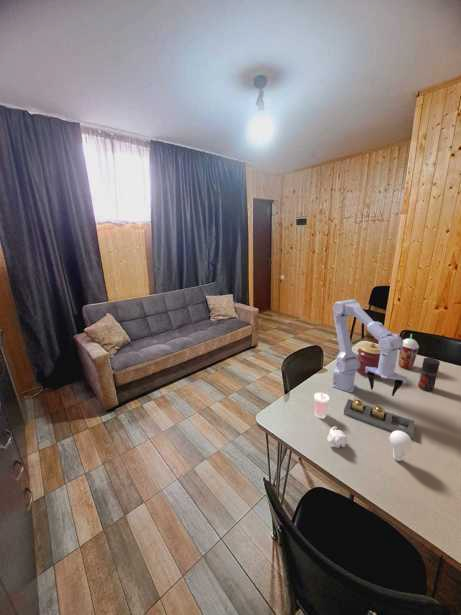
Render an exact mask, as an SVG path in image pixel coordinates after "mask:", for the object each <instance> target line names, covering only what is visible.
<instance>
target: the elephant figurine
mask: <svg viewBox="0 0 461 615" xmlns="http://www.w3.org/2000/svg"><path fill="white" fill-rule="evenodd" d="M349 436H350V435H349V434H348V435H346V434H345V433H344V431H342V430H340V429H337V426H332V427H331V428H329V433H328V436H327V437H326V440H327V443H328V444H330V445H332V444H335V448H338V449H339V448H340V447H341V448H345V447H346V445H347V443H348V438H347V437H349Z"/></svg>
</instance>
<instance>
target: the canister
mask: <svg viewBox="0 0 461 615" xmlns="http://www.w3.org/2000/svg"><path fill="white" fill-rule="evenodd" d="M357 353H358V354H357V358H358V360H359V362H360V367H359V368H358V369H357V371H356V372H357V374H359V375H361V376H363V377H366V378H368V377H367V374H368V373H366V372H365V368H366V366H367V367H373V368H378V365H379V359H380V353H381V351H380V346H379V344H376V343H375V342H369V343H363V344H361V345H359V348H357ZM380 377H381V376H379V375H376V374H375V377H374V379H377V378H380Z"/></svg>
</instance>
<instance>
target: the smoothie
mask: <svg viewBox="0 0 461 615" xmlns="http://www.w3.org/2000/svg"><path fill="white" fill-rule="evenodd" d="M412 337H413V334H412V333H410V336H409V338H405V339H402V340H403V345H402V347H400V348H399V354H398V365H399V367H400V368H401V369H404V370H412V369H413V368H414V364H415V361H416V358H417V354H418V351H419V348H420V346H419V344H418V343H419V342H417V341H416V340H415V339H414V338H412Z"/></svg>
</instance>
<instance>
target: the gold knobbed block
mask: <svg viewBox="0 0 461 615" xmlns="http://www.w3.org/2000/svg"><path fill="white" fill-rule="evenodd" d="M365 403H366V402H364V401H362V400H359V399H356V398H354V399H353V403H352V407H351V410H354V411H356V412H359V413H362V414H364V411H363V409H364V404H365Z"/></svg>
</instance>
